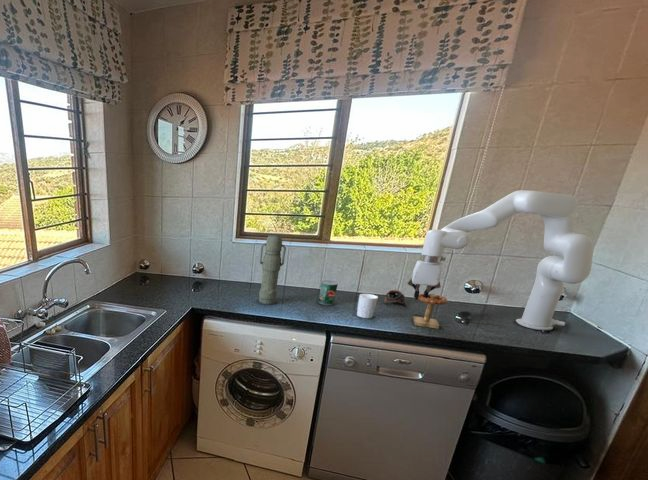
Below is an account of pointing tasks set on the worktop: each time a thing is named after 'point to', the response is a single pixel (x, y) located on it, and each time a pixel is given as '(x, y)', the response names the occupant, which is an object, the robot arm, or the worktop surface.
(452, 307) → the worktop surface
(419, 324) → the stand
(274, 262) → the grey stone vase
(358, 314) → the white cup
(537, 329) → the robot arm
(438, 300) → the ring
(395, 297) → the brown domed piece
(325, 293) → the canned tomato
